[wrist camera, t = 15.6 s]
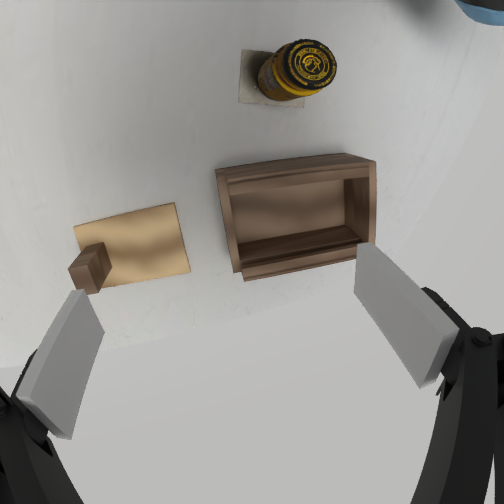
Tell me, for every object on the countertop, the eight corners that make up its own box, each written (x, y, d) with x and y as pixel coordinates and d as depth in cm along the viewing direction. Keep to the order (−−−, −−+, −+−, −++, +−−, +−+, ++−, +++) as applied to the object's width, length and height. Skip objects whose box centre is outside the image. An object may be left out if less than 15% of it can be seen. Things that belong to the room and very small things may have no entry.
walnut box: (215, 169, 36) (217, 181, 28) (345, 152, 37) (376, 161, 30) (229, 253, 41) (235, 283, 34) (347, 231, 42) (374, 254, 35)
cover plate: (75, 225, 36) (51, 247, 29) (174, 201, 37) (167, 220, 30) (97, 286, 40) (81, 316, 33) (190, 268, 41) (188, 299, 34)
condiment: (303, 108, 34) (344, 103, 23) (238, 102, 33) (253, 91, 22) (306, 57, 31) (346, 35, 20) (241, 50, 30) (257, 18, 19)
